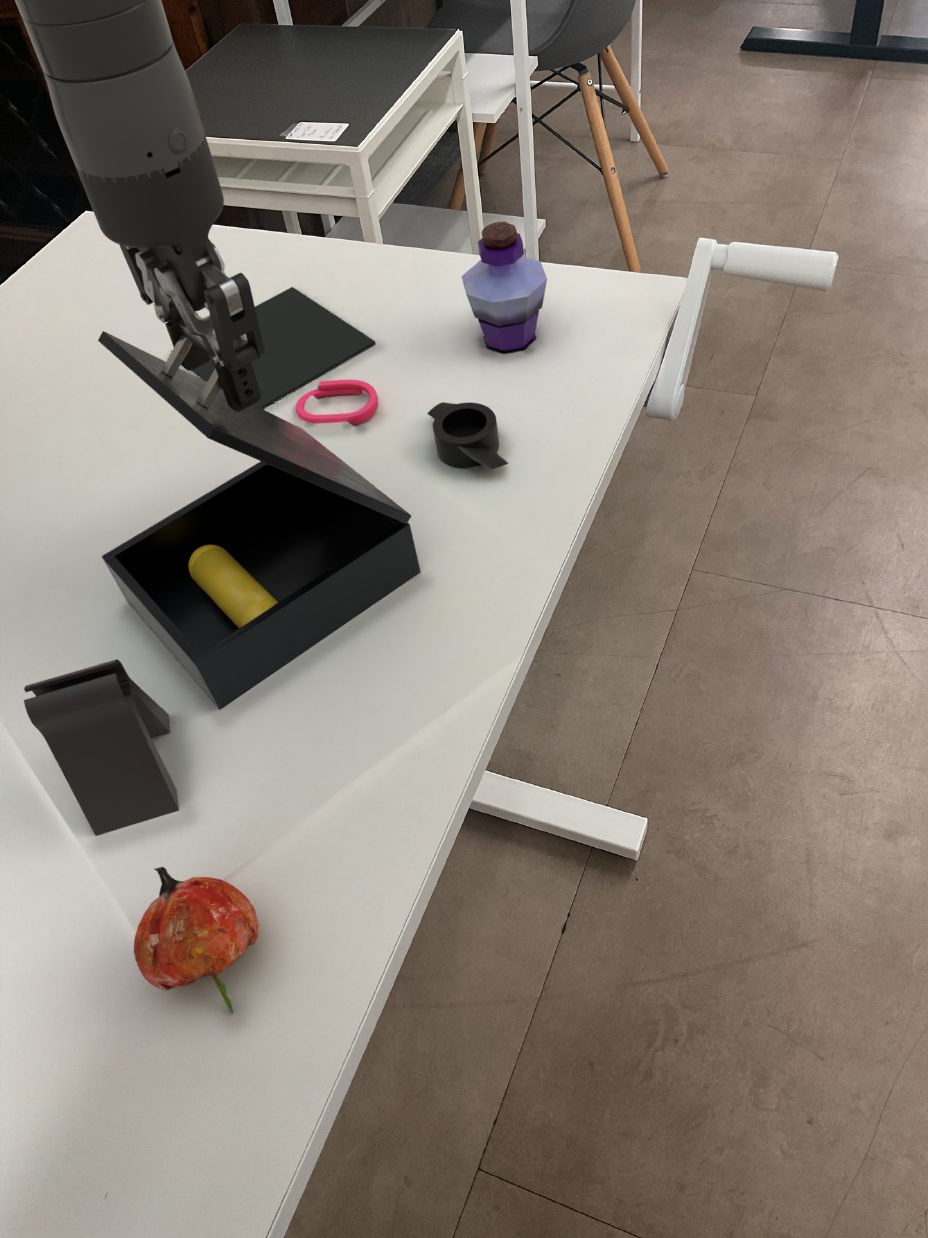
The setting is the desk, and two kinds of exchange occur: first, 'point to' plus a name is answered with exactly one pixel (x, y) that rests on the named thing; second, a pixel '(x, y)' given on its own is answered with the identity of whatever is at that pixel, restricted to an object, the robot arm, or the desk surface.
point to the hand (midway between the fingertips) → (221, 383)
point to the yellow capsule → (229, 584)
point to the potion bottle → (505, 289)
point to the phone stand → (105, 744)
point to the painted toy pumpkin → (193, 932)
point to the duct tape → (466, 435)
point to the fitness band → (340, 389)
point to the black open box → (262, 574)
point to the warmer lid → (247, 423)
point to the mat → (297, 345)
